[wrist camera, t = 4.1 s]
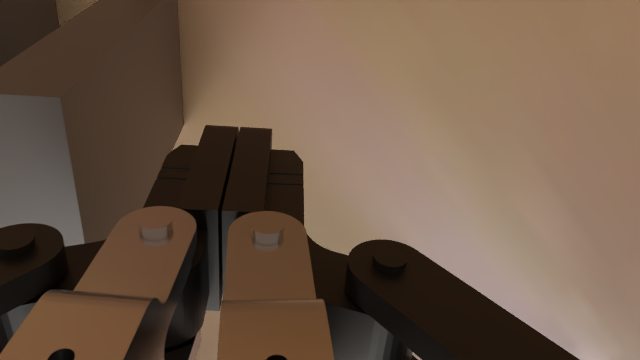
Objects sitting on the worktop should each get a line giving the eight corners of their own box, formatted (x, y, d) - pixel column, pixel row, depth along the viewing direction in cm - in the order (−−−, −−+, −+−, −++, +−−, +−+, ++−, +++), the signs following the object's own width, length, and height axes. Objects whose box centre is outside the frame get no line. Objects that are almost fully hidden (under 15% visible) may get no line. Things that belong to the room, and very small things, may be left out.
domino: (176, -15, 18) (59, 97, 9) (183, 125, 21) (97, 315, 12) (126, -19, 18) (-37, 92, 9) (140, 122, 20) (20, 312, 12)
